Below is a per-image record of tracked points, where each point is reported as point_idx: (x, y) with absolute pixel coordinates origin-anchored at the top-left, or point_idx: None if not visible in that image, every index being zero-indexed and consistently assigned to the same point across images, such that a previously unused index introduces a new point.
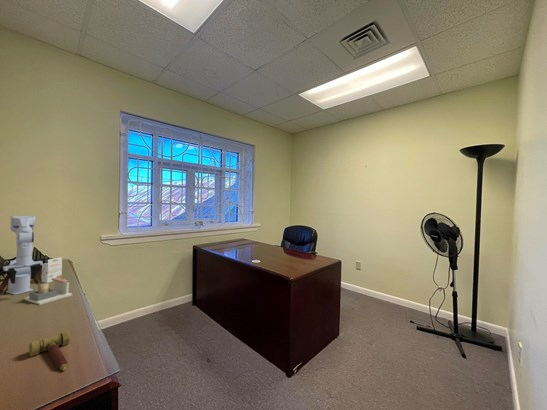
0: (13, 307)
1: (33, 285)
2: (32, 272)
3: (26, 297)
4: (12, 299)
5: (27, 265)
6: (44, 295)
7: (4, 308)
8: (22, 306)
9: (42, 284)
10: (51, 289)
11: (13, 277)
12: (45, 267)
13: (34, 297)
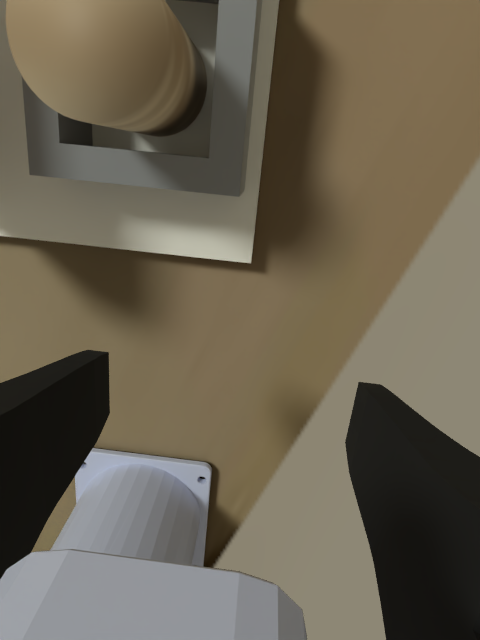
0: (431, 109)
1: None
2: (37, 476)
3: (235, 255)
4: (283, 368)
5: (191, 607)
6: None
7: (472, 168)
8: (386, 43)
9: (108, 24)
10: None
11: (441, 444)
12: None
13: (255, 56)
